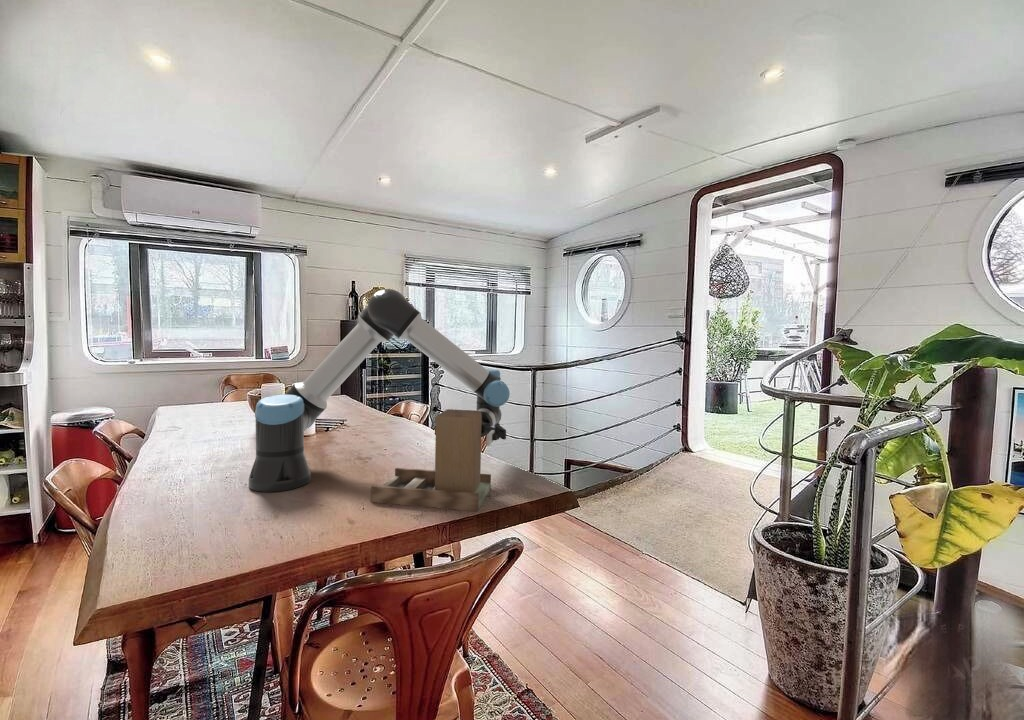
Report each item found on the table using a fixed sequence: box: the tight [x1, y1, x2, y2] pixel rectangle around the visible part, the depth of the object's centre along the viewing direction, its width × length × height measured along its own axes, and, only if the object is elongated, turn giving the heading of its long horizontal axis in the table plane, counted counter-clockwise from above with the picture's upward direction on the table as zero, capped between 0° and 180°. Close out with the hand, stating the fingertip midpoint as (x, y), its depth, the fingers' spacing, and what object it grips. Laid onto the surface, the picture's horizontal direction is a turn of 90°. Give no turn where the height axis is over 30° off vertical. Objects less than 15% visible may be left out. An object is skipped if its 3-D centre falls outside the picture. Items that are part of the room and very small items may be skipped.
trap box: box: [370, 467, 492, 512], centre depth 119 cm, size 27×16×4 cm, turn 81°
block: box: [434, 408, 482, 493], centre depth 117 cm, size 10×10×20 cm
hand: (462, 438), depth 119 cm, fingers open, 13 cm apart
